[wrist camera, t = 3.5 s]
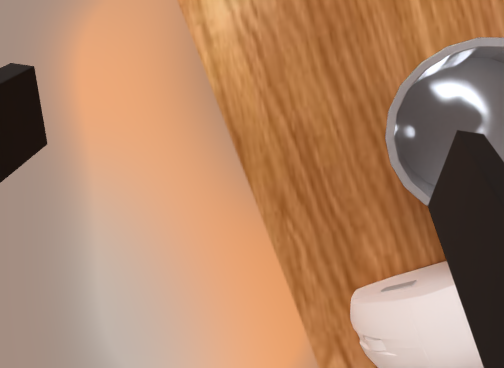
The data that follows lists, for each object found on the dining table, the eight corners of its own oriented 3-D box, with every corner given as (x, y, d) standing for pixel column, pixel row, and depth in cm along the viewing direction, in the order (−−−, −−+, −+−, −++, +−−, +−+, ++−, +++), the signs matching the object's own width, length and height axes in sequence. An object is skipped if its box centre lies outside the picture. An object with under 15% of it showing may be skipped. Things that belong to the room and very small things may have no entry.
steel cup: (500, 20, 29) (526, -3, 23) (580, 151, 29) (629, 165, 23) (365, 104, 33) (354, 103, 27) (434, 219, 33) (440, 248, 26)
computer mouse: (343, 287, 36) (331, 322, 30) (512, 237, 31) (535, 268, 25) (374, 358, 36) (367, 406, 30) (547, 319, 31) (578, 368, 26)
